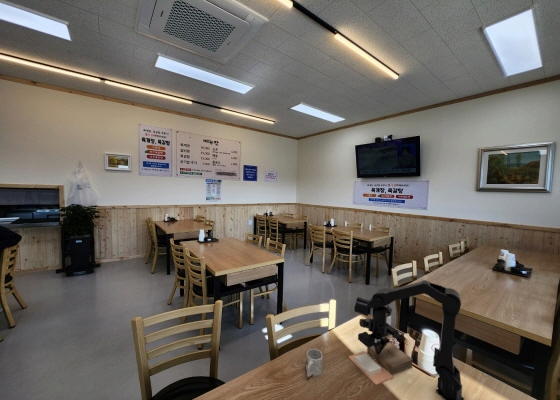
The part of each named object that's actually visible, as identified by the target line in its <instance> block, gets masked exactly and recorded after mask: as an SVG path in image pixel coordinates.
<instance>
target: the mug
mask: <svg viewBox="0 0 560 400" xmlns="http://www.w3.org/2000/svg"><path fill="white" fill-rule="evenodd" d="M305 362H306V363H305V365H306V367H305V368H306V376H307V378H309V377H311V376H313V377H314V376H316V377H317V376H320V375H321V374H322V373H323V353H322V351H321V350H319V349H318V348H309V349H308V350H307V351H306V361H305Z"/></svg>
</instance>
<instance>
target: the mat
mask: <svg viewBox="0 0 560 400" xmlns="http://www.w3.org/2000/svg"><path fill="white" fill-rule="evenodd" d="M364 353H366V354H367V355H368V356H369V357H370V358H371V359H372V360H373V361H375V362H376V363H377V364H378V365H379V366H380V367H381V372H380V373H378V374H375V375H373V376H369V375H368V374H367V373H366V372H365V371H364V370H363V369H362V368H361V367H360V366H359V365H358V364H357V363H356V362H355V356H358V355H361V354H364ZM348 359H349V360H350V361H352V363H354V365H355V366H356V367H357V368H358V369H360V371H362V373H363V374H364V375H365V376H366V377H367V378H368V379H369V380H370V381H371V382H373V384H374V385H376V386H378V385H380V384H382V383H384V382H387V381H389V380H392V379H394V375H391V374H390V373H389V372H388V371H387V370H386V369H385V368H383V367H382V366H381V365H380V364H379V363H378V362H377V361H376V360H374V359H373V358H372V357H371V356H370V355H369V354H368V353H367V351H366V350H365V351H361V352H357V353H354V354H352V355H349V356H348Z"/></svg>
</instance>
